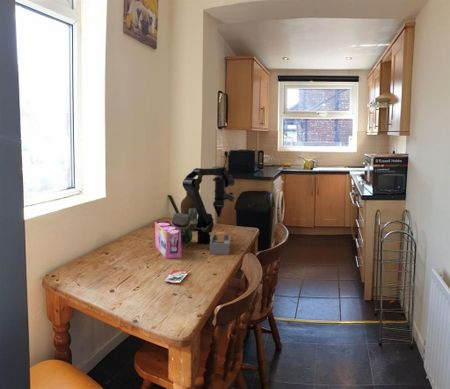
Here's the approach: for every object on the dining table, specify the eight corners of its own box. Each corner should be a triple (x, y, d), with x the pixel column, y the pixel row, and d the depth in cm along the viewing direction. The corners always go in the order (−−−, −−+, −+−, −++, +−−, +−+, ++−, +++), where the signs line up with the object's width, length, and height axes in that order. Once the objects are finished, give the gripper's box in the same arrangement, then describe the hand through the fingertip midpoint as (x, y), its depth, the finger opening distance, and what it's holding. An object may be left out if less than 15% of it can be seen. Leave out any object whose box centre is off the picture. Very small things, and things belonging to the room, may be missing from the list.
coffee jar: (193, 233, 234) (191, 212, 220) (190, 245, 229) (187, 224, 215) (177, 230, 236) (173, 210, 222) (173, 242, 231) (169, 221, 217)
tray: (209, 253, 213) (209, 243, 212) (212, 244, 231) (212, 234, 230) (228, 254, 213) (228, 243, 212) (230, 244, 230) (230, 234, 229)
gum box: (182, 258, 206) (182, 231, 204) (166, 260, 203) (166, 232, 201) (169, 245, 228) (169, 220, 226) (154, 246, 225) (154, 221, 223)
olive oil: (177, 229, 263) (176, 189, 259) (190, 226, 270) (190, 188, 266) (187, 232, 255) (187, 191, 251) (201, 229, 262) (201, 189, 258)
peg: (223, 250, 220) (223, 233, 219) (216, 250, 220) (217, 233, 219) (224, 248, 223) (224, 231, 222) (217, 248, 224) (217, 231, 222)
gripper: (233, 191, 231) (233, 219, 234) (234, 186, 250) (234, 212, 252) (213, 190, 232) (212, 218, 234) (215, 186, 250) (215, 211, 253)
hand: (219, 215), depth 243 cm, fingers open, 9 cm apart
